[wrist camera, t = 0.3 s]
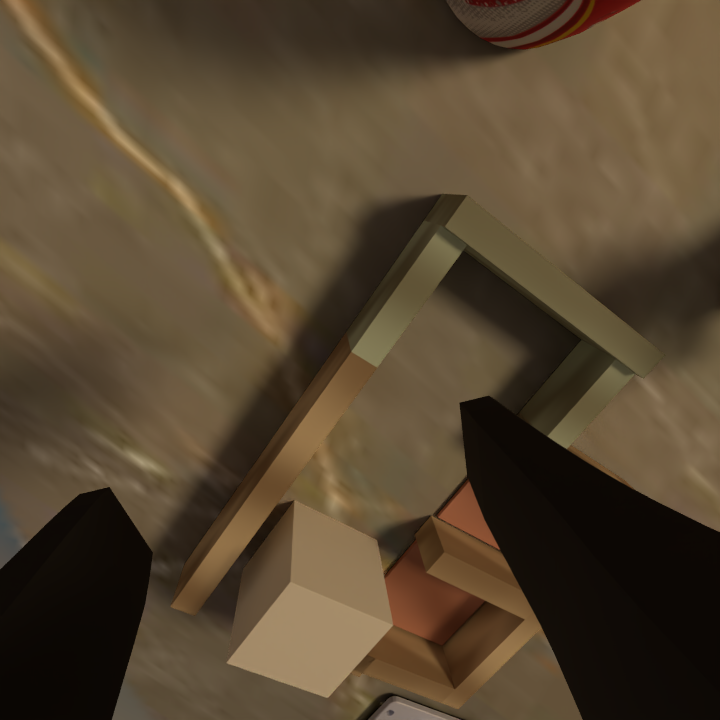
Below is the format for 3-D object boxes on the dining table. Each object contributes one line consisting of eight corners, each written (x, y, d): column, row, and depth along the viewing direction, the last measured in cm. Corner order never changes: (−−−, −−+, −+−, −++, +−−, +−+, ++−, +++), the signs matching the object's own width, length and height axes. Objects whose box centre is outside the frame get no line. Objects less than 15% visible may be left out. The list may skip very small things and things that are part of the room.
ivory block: (324, 602, 25) (327, 698, 20) (242, 568, 23) (226, 662, 19) (376, 538, 24) (393, 625, 19) (294, 499, 22) (290, 581, 18)
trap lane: (442, 667, 28) (457, 722, 25) (184, 564, 23) (167, 616, 20) (703, 400, 22) (759, 430, 20) (442, 193, 18) (467, 195, 15)
